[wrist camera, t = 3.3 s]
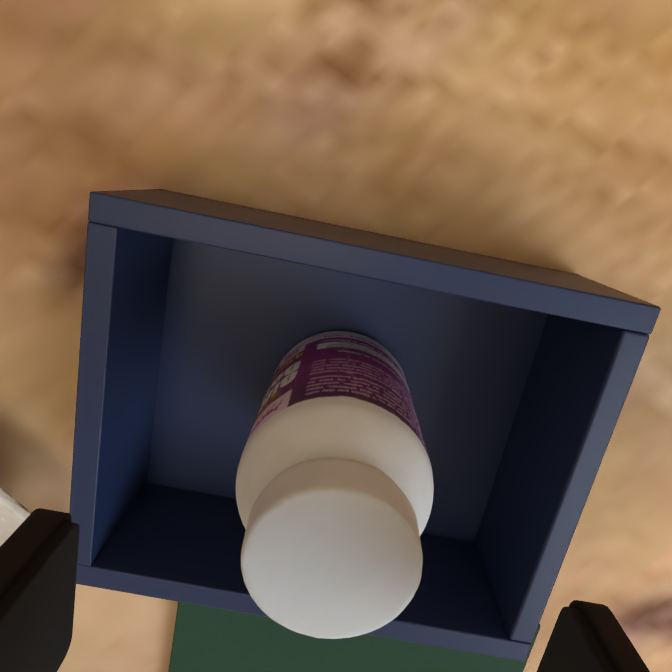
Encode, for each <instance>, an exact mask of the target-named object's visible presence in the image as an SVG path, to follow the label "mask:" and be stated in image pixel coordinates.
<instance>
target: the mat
mask: <svg viewBox="0 0 672 672" xmlns="http://www.w3.org/2000/svg"><path fill="white" fill-rule="evenodd" d="M539 629H540V624H539V625H538V627H537V630H536V632H535V635H534V638H533V640H532V642H531V646H530V649H529V651H528V654H527V657H526V659H525V661H523V662H522V661H517V660H511V659H505V658H499V657H494V656H488V655H482V654H477V653H471V652H465V651H459V650H454V649H448V648H442V647H436V646H431V645H425V644H419V643H414V642H408V641H402V640H396V639H391V638H385V637H379V636H373V635H368V634H363V635H360V636H355V637H350V638H341V639H325V638H315V637H311V636H308V635H304V634H300V633H297V632H295V631H292V630H290V629H288V628H286V627H284V626H282V625H280V624H279V623H277V622H275V621H274V620H272V619H271V618H270V617H265V616H259V615H253V614H247V613H242V612H236V611H230V610H224V609H219V608H213V607H207V606H201V605H196V604H190V603H184V602H179V601H178V608H177V615H176V623H175V630H174V637H173V644H172V651H171V658H170V666H169V672H523V670H524V668H525V665H526V662H527V660H528V657H529V655H530V652H531V649H532V647H533V644H534V642H535V639H536V637H537V634H538V631H539Z"/></svg>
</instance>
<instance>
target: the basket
mask: <svg viewBox="0 0 672 672" xmlns="http://www.w3.org/2000/svg"><path fill="white" fill-rule="evenodd" d="M88 220H89V221H90V222H88V227H87V243H86V259H85V275H84V291H83V307H82V322H81V338H80V354H79V370H78V386H77V402H76V418H75V433H74V449H73V465H72V481H71V497H70V513H69V514H70V515H71V517H72V523H77V524H79V526H80V532H79V546H78V560H77V574H76V584H81V585H87V586H93V587H98V588H104V589H110V590H116V591H121V592H127V593H133V594H138V595H144V596H150V597H156V598H161V599H167V600H173V601H179V602H184V603H190V604H196V605H201V606H207V607H213V608H219V609H224V610H230V611H236V612H242V613H247V614H253V615H259V616H265V617H268V616H267V615H266V614H265V613H264V612H263V611H262V610H261V609H260V608H259V607H258V605H257V604H256V603H255V601H254V600H253V599H252V597H251V596H250V593H249V592H248V590H247V588H246V585H245V583H244V580H243V575H242V570H241V549H242V544H243V540H244V535H245V531H246V529H245V527H244V525H243V523H242V520H241V517H240V515H239V511H238V506H237V501H236V476H237V469H238V466H239V463H240V459H241V456H242V453H243V450H244V448H245V445H246V442H247V440H248V437H249V435H250V432H251V430H252V427H253V425H254V422H255V420H256V417H257V415H258V412H259V410H260V407H261V405H262V401H263V399H264V397H265V394H266V392H267V390H268V387H269V384H270V382H271V380H272V377H273V375H274V373H275V370H276V369H277V367H278V365H279V363H280V362H281V360H282V359H283V357H284V356H285V355H286V354H287V353H288V352H289V351H290V350H291V349H292V348H293V347H294V346H296V345H297V344H298V343H300V342H301V341H303V340H305V339H306V338H309V337H311V336H313V335H316V334H319V333H323V332H327V331H347V332H354V333H357V334H361V335H364V336H367V337H369V338H371V339H373V340H375V341H377V342H378V343H380V344H381V345H382V346H384V347H385V348H386V349H387V350H388V351H389V352H390V353H391V354H392V355H393V356H394V358H395V359H396V360H397V362H398V363H399V365H400V367H401V368H402V370H403V373H404V375H405V378H406V381H407V385H408V388H409V391H410V395H411V398H412V402H413V405H414V409H415V412H416V416H417V419H418V423H419V426H420V430H421V433H422V437H423V440H424V443H425V447H426V450H427V453H428V455H429V459H430V463H431V467H432V473H433V484H434V492H433V503H432V508H431V513H430V516H429V519H428V522H427V524H426V526H425V528H424V530H423V532H422V534H421V536H420V541H421V547H422V554H423V565H422V574H421V580H420V583H419V586H418V589H417V590H416V592H415V594H414V597H413V598H412V600H411V601H410V603H409V604H408V605H407V606H406V608H405V609H404V610H403V611H402V612H401V613H400V614H399V615H398V616H397V617H396V618H395V619H393V620H392V621H391V622H389V623H387V624H386V625H384V626H382V627H381V628H379V629H376V630H374V631H372V632H369V633H366V634H368V635H373V636H379V637H385V638H391V639H396V640H402V641H408V642H414V643H419V644H425V645H431V646H436V647H442V648H448V649H454V650H459V651H465V652H471V653H477V654H482V655H488V656H494V657H499V658H505V659H511V660H517V661H522V662H523V661H525V659H526V657H527V654H528V651H529V649H530V646H531V642H532V640H533V638H534V635H535V632H536V630H537V627H538V625H539V622H540V619H541V617H542V614H543V612H544V609H545V606H546V604H547V601H548V599H549V596H550V593H551V591H552V588H553V586H554V583H555V581H556V578H557V575H558V573H559V570H560V568H561V565H562V562H563V560H564V557H565V555H566V552H567V549H568V547H569V544H570V542H571V539H572V536H573V534H574V531H575V529H576V526H577V523H578V521H579V518H580V516H581V513H582V511H583V508H584V505H585V503H586V500H587V498H588V495H589V492H590V490H591V487H592V485H593V482H594V479H595V477H596V474H597V472H598V469H599V466H600V464H601V461H602V459H603V456H604V454H605V451H606V448H607V446H608V443H609V441H610V438H611V435H612V433H613V430H614V428H615V425H616V422H617V420H618V417H619V415H620V412H621V409H622V407H623V404H624V402H625V399H626V396H627V394H628V391H629V389H630V386H631V384H632V381H633V378H634V376H635V373H636V371H637V368H638V365H639V363H640V360H641V358H642V355H643V352H644V350H645V347H646V345H647V342H648V339H649V335H648V334H651V333H652V331H653V328H654V325H655V323H656V320H657V318H658V315H659V312H660V310H661V308H660V307H659V306H656V305H653V304H651V303H648V302H646V301H643V300H641V299H638V298H636V297H633V296H631V295H628V294H626V293H623V292H620V291H618V290H615V289H613V288H610V287H608V286H605V285H603V284H600V283H598V282H595V281H593V280H590V279H587V278H585V277H582V276H580V275H578V274H573V273H568V272H563V271H558V270H554V269H549V268H544V267H539V266H534V265H529V264H524V263H519V262H514V261H510V260H505V259H500V258H495V257H490V256H485V255H480V254H475V253H470V252H466V251H461V250H456V249H451V248H446V247H441V246H436V245H431V244H426V243H422V242H417V241H412V240H407V239H402V238H397V237H392V236H387V235H382V234H378V233H373V232H368V231H363V230H358V229H353V228H348V227H343V226H338V225H334V224H329V223H324V222H319V221H314V220H309V219H304V218H299V217H294V216H290V215H285V214H280V213H275V212H270V211H265V210H260V209H255V208H250V207H246V206H241V205H236V204H231V203H226V202H221V201H216V200H211V199H206V198H202V197H197V196H192V195H187V194H182V193H177V192H172V191H167V190H162V189H153V190H123V191H93V192H90V200H89V216H88Z"/></svg>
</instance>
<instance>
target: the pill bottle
mask: <svg viewBox="0 0 672 672" xmlns="http://www.w3.org/2000/svg"><path fill="white" fill-rule="evenodd" d="M433 492H434V484H433V473H432V467H431V463H430V459H429V455H428V453H427V450H426V447H425V443H424V440H423V437H422V433H421V430H420V426H419V423H418V419H417V416H416V412H415V409H414V405H413V402H412V398H411V395H410V391H409V388H408V385H407V381H406V378H405V375H404V373H403V370H402V368H401V367H400V365H399V363H398V362H397V360H396V359H395V358H394V356H393V355H392V354H391V353H390V352H389V351H388V350H387V349H386V348H385V347H384V346H382V345H381V344H380V343H378V342H377V341H375V340H373V339H371V338H369V337H367V336H364V335H361V334H357V333H354V332H347V331H327V332H323V333H319V334H316V335H313V336H311V337H309V338H306V339H305V340H303V341H301V342H300V343H298V344H297V345H296V346H294V347H293V348H292V349H291V350H290V351H289V352H288V353H287V354H286V355H285V356H284V357H283V359H282V360H281V362H280V363H279V365H278V367H277V369H276V370H275V373H274V375H273V377H272V380H271V382H270V384H269V387H268V390H267V392H266V394H265V397H264V399H263V401H262V405H261V407H260V410H259V412H258V415H257V417H256V420H255V422H254V425H253V427H252V430H251V432H250V435H249V437H248V440H247V442H246V445H245V448H244V450H243V453H242V456H241V459H240V463H239V466H238V469H237V476H236V501H237V506H238V511H239V515H240V517H241V520H242V523H243V525H244V527H245V529H246V531H245V535H244V540H243V544H242V549H241V570H242V575H243V580H244V583H245V585H246V588H247V590H248V592H249V593H250V596H251V597H252V599H253V600H254V601H255V603H256V604H257V605H258V607H259V608H260V609H261V610H262V611H263V612H264V613H265V614H266V615H267V616H268V617H270V618H271V619H272V620H274V621H275V622H277V623H279V624H280V625H282V626H284V627H286V628H288V629H290V630H292V631H295V632H297V633H300V634H304V635H308V636H311V637H315V638H325V639H341V638H350V637H355V636H360V635H363V634H366V633H369V632H372V631H374V630H376V629H379V628H381V627H382V626H384V625H386V624H387V623H389V622H391V621H392V620H393V619H395V618H396V617H397V616H398V615H399V614H400V613H401V612H402V611H403V610H404V609H405V608H406V606H407V605H408V604H409V603H410V601H411V600H412V598H413V597H414V594H415V592H416V590H417V589H418V586H419V583H420V580H421V574H422V565H423V554H422V547H421V541H420V536H421V534H422V532H423V530H424V528H425V526H426V524H427V522H428V519H429V516H430V513H431V508H432V503H433Z"/></svg>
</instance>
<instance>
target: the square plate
mask: <svg viewBox="0 0 672 672" xmlns="http://www.w3.org/2000/svg"><path fill="white" fill-rule="evenodd" d="M30 514H31V513H30V512H29V511H28V510H27V509H26V508H25V507H24V506H23V505H21V504H20V503H19V502H18V501H16V500H15V499H14V498H13V497H12V496H10V495H9V494H8V493H7V492H6V491H5V490H4V489H2V488H1V487H0V546H1V545H2V544H3V543H4V542H5V541H6V540H7V539H8V538H9V537H10V536H11V535H12V534H13V532H14V531H15V530H16V529H17V528H18V527H19V526H20V525H21V524H22V523H23V522H24V521H25V520H26V519H27V517H28V516H29V515H30Z"/></svg>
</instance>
